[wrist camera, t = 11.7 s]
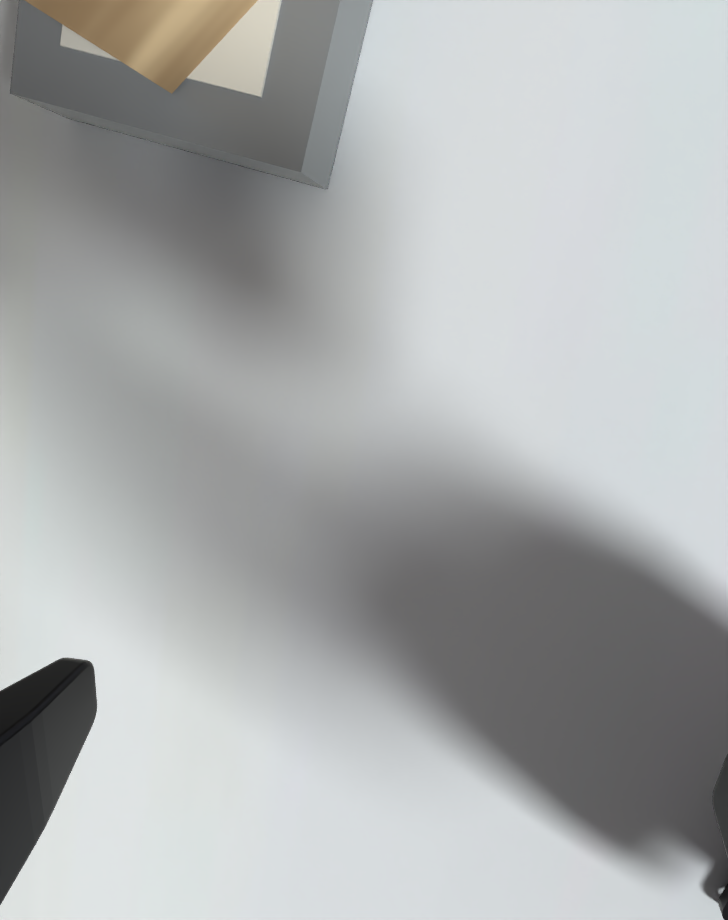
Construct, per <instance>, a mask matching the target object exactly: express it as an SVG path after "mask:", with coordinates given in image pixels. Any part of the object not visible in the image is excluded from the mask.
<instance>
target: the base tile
mask: <svg viewBox="0 0 728 920" xmlns="http://www.w3.org/2000/svg"><path fill="white" fill-rule="evenodd" d="M372 2H373V0H258V1H257V2H256V3H255V4H254V5H253V6H252V7H251V8H250V9H249V11H248V12H247V13H246V14H245V15H244V16H243V17H242V18H241V19H240V20H239V21H238V22H237V24H236V25H235V26H234V27H233V28H232V29H231V30H230V31H229V32H228V33H227V34H226V36H225V37H224V38H223V39H222V40H221V41H220V42H219V43H218V44H217V45H216V46H215V47H214V49H213V50H212V51H211V52H210V53H209V54H208V55H207V56H206V57H205V58H204V59H203V60H202V62H201V63H200V64H199V65H198V66H197V67H196V68H195V69H194V70H193V71H192V72H191V74H190V75H189V76H188V77H187V78H186V79H185V80H184V81H183V82H182V83H181V84H180V85H179V87H178V88H177V89H176V90H175V91H174V92H173V93H172V94H171V93H170V92H168V91H167V90H165V89H164V88H162V87H160V86H159V85H157V84H156V83H154V82H152V81H151V80H149V79H148V78H146V77H145V76H143V75H141V74H140V73H138V72H137V71H135V70H134V69H132V68H130V67H129V66H127V65H126V64H124V63H123V62H121V61H119V60H118V59H116V58H115V57H113V56H111V55H110V54H108V53H107V52H105V51H104V50H102V49H100V48H99V47H97V46H96V45H94V44H93V43H91V42H89V41H88V40H86V39H85V38H83V37H81V36H80V35H78V34H77V33H75V32H74V31H72V30H70V29H69V28H67V27H66V26H64V25H63V24H61V23H59V22H58V21H56V20H55V19H53V18H52V17H50V16H48V15H47V14H45V13H44V12H42V11H40V10H39V9H37V8H36V7H34V6H33V5H31V4H29V3H28V2H26V1H25V0H19V7H18V17H17V27H16V37H15V47H14V57H13V67H12V77H11V88H10V93H11V94H13V95H15V96H18V97H20V98H22V99H25V100H27V101H29V102H31V103H34V104H36V105H38V106H41V107H43V108H45V109H48V110H50V111H52V112H55V113H57V114H59V115H62V116H64V117H66V118H69V119H72V120H76V121H80V122H83V123H87V124H91V125H94V126H98V127H101V128H105V129H109V130H112V131H116V132H120V133H123V134H127V135H131V136H134V137H138V138H142V139H145V140H149V141H152V142H156V143H160V144H163V145H167V146H171V147H174V148H178V149H182V150H185V151H189V152H192V153H196V154H200V155H203V156H207V157H211V158H214V159H218V160H222V161H225V162H229V163H233V164H236V165H240V166H243V167H247V168H251V169H254V170H258V171H262V172H265V173H269V174H273V175H276V176H280V177H284V178H287V179H291V180H294V181H298V182H302V183H305V184H309V185H313V186H316V187H320V188H324V189H328V185H329V180H330V176H331V172H332V168H333V164H334V160H335V156H336V151H337V147H338V143H339V139H340V135H341V131H342V127H343V122H344V118H345V114H346V110H347V106H348V102H349V97H350V93H351V89H352V85H353V81H354V77H355V73H356V68H357V64H358V60H359V56H360V52H361V48H362V44H363V39H364V35H365V31H366V27H367V23H368V19H369V14H370V10H371V6H372Z"/></svg>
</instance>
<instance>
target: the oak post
mask: <svg viewBox="0 0 728 920" xmlns="http://www.w3.org/2000/svg"><path fill="white" fill-rule="evenodd" d="M25 1H26V2H28V3H29V4H31V5H33V6H34V7H36V8H37V9H39V10H40V11H42V12H44V13H45V14H47V15H48V16H50V17H52V18H53V19H55V20H56V21H58V22H59V23H61V24H63V25H64V26H66V27H67V28H69V29H70V30H72V31H74V32H75V33H77V34H78V35H80V36H81V37H83V38H85V39H86V40H88V41H89V42H91V43H93V44H94V45H96V46H97V47H99V48H100V49H102V50H104V51H105V52H107V53H108V54H110V55H111V56H113V57H115V58H116V59H118V60H119V61H121V62H123V63H124V64H126V65H127V66H129V67H130V68H132V69H134V70H135V71H137V72H138V73H140V74H141V75H143V76H145V77H146V78H148V79H149V80H151V81H152V82H154V83H156V84H157V85H159V86H160V87H162V88H164V89H165V90H167V91H168V92H170V93H171V94H172V93H173V92H174V91H175V90H176V89H177V88H178V87H179V85H180V84H181V83H182V82H183V81H184V80H185V79H186V78H187V77H188V76H189V75H190V74H191V72H192V71H193V70H194V69H195V68H196V67H197V66H198V65H199V64H200V63H201V62H202V60H203V59H204V58H205V57H206V56H207V55H208V54H209V53H210V52H211V51H212V50H213V49H214V47H215V46H216V45H217V44H218V43H219V42H220V41H221V40H222V39H223V38H224V37H225V36H226V34H227V33H228V32H229V31H230V30H231V29H232V28H233V27H234V26H235V25H236V24H237V22H238V21H239V20H240V19H241V18H242V17H243V16H244V15H245V14H246V13H247V12H248V11H249V9H250V8H251V7H252V6H253V5H254V4H255V3H256V2H257V1H258V0H25Z"/></svg>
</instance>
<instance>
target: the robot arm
mask: <svg viewBox="0 0 728 920" xmlns="http://www.w3.org/2000/svg"><path fill="white" fill-rule="evenodd" d="M96 712H97V698H96V686H95V674H94V667H93V665H92V663H91V662H90V661H88V660H82V659H74V658H61V659H59V660H57V661H55V662H53V663H51V664H49V665H48V666H46V667H44V668H42V669H40V670H38V671H36V672H35V673H33V674H31V675H29V676H27V677H25V678H23V679H21V680H20V681H18V682H16V683H14V684H12V685H10V686H8V687H7V688H5V689H3V690H1V691H0V905H1V903H2V901H3V900H4V898H5V896H6V894H7V893H8V891H9V889H10V888H11V886H12V884H13V882H14V881H15V879H16V877H17V876H18V874H19V872H20V870H21V869H22V867H23V865H24V864H25V862H26V860H27V858H28V857H29V855H30V853H31V851H32V850H33V848H34V846H35V845H36V843H37V841H38V839H39V837H40V836H41V834H42V832H43V830H44V828H45V826H46V824H47V822H48V820H49V818H50V816H51V814H52V812H53V810H54V808H55V806H56V804H57V801H58V799H59V797H60V795H61V793H62V790H63V788H64V786H65V784H66V782H67V780H68V777H69V775H70V773H71V771H72V769H73V766H74V764H75V762H76V760H77V758H78V756H79V753H80V751H81V749H82V747H83V745H84V742H85V740H86V738H87V736H88V734H89V732H90V729H91V727H92V725H93V723H94V720H95V716H96ZM713 808H714V812H715V816H716V819H717V823H718V826H719V830H720V833H721V837H722V840H723V844H724V847H725V851H726V854H727V858H728V755H727V757H726V759H725V762H724V764H723V767H722V770H721V772H720V775H719V778H718V780H717V783H716V785H715V788H714V792H713ZM718 903H719V907H720V910H721V913H722V916H723V918H724V920H728V884H727V886H726V888H725V890H724V891H723V893H722V895H721V896H720V898H719V902H718Z"/></svg>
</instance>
